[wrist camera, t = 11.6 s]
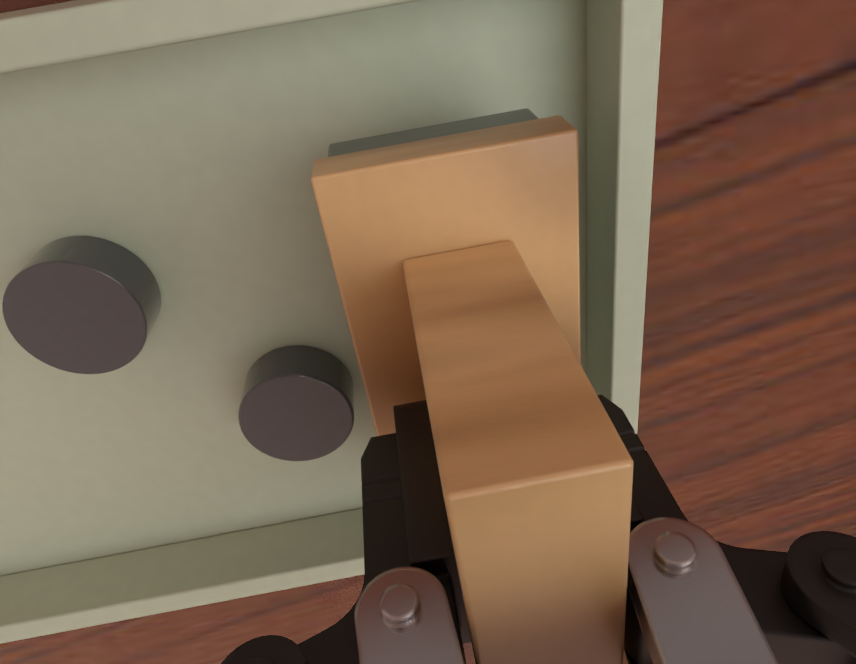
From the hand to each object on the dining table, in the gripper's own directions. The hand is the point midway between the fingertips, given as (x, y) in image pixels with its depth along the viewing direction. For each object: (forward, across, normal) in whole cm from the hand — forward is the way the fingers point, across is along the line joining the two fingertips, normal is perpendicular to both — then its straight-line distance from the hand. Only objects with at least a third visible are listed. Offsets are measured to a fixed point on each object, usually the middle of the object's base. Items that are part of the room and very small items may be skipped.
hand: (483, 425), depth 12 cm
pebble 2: (+5, +4, +2) cm, 7 cm away
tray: (+6, +6, 0) cm, 9 cm away
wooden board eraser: (+3, 0, 0) cm, 3 cm away
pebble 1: (+5, +8, -2) cm, 10 cm away
